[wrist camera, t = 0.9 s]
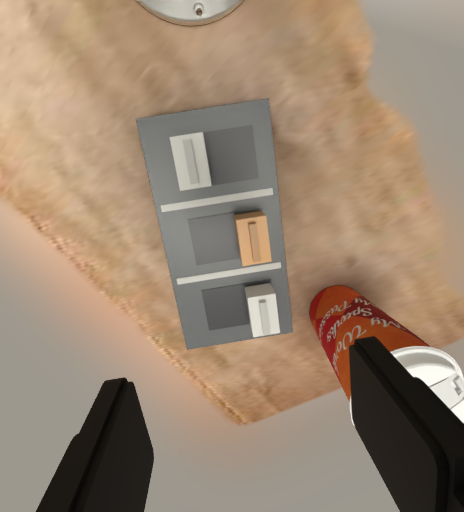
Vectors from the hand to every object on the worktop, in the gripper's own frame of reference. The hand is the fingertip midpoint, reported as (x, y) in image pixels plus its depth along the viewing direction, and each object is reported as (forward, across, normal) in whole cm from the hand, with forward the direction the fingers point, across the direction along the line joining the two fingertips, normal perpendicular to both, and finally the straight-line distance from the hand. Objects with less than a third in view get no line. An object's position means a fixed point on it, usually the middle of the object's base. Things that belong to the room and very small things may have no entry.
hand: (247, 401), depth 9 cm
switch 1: (+20, +2, -7) cm, 21 cm away
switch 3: (+20, -2, +7) cm, 21 cm away
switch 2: (+20, -2, 0) cm, 20 cm away
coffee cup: (+24, -11, +11) cm, 28 cm away
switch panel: (+24, 0, 0) cm, 24 cm away
